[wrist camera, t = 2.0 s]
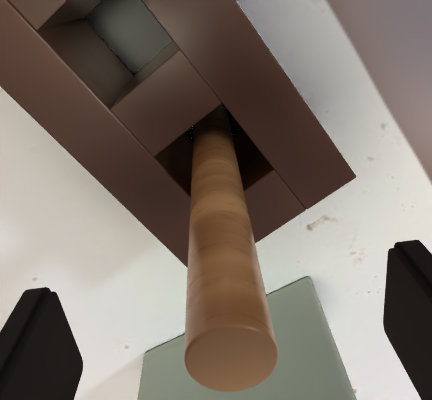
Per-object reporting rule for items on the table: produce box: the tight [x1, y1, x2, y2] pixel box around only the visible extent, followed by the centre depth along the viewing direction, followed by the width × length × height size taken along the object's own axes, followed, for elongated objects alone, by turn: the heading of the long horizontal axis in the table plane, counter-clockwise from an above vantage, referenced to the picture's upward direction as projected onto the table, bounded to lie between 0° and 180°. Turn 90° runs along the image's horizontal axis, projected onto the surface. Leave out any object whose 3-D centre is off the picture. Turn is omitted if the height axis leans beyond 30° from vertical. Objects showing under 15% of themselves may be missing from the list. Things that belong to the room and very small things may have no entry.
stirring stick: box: [184, 104, 278, 392], centre depth 18 cm, size 2×2×20 cm
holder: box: [0, 0, 356, 268], centre depth 22 cm, size 10×17×8 cm, turn 38°
